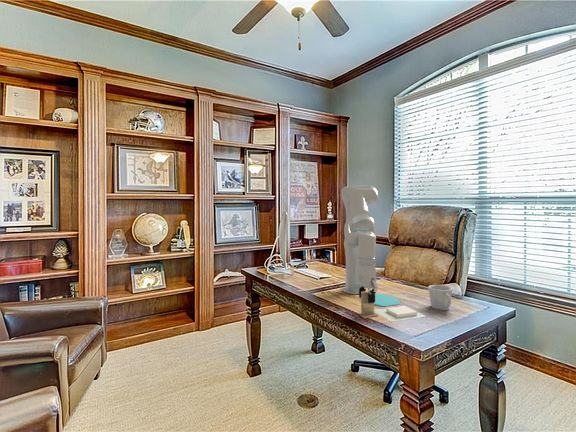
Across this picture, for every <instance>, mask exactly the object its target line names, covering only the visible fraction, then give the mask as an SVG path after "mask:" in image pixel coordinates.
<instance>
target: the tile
mask: <svg viewBox="0 0 576 432" xmlns="http://www.w3.org/2000/svg"><path fill="white" fill-rule="evenodd" d="M385 308H386V311H387V312H388V313H390V314H392V315H394V316H396V317H397V318H402V317H409V316H415V315H417V312H418V311H417V310H415V309H413V308H410V307H408V306H406V305H400V306H398V305H397V306H390V307H385ZM414 310H415V311H414ZM416 311H417V312H416Z"/></svg>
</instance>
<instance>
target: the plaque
mask: <svg viewBox="0 0 576 432" xmlns="http://www.w3.org/2000/svg"><path fill="white" fill-rule="evenodd" d="M398 305H401V302H400V300H399V298H398V297H397V296H394V295H388V294H383V293H379V292H378V293H377V292H376V294H375V303H374V306H378V307H383V308H388V307H394V306H398Z"/></svg>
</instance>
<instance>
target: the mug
mask: <svg viewBox="0 0 576 432" xmlns="http://www.w3.org/2000/svg"><path fill="white" fill-rule="evenodd" d="M427 288H428V294H429V299H430V306H431V308H433V309H435V310H440V311H448V310H449V309H450V307H451V306H452V305H451V304H452V294H453V293H452V292H453V288H452V287H451V286H449V285H445V284H431V285H428V287H427Z"/></svg>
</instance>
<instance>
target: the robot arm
mask: <svg viewBox="0 0 576 432" xmlns="http://www.w3.org/2000/svg"><path fill="white" fill-rule="evenodd" d="M341 199H342V200H341V201H342V202H343V205H344V209H345V223H344V228H343V233H344V240H343V247H344V255H345V282H344V284H345V287H343V289H342V290H343V292H344V293H346V294H349V295H358V297H359V299H361V292H363V291H369V294H368V303H375V294H376V293H377V290H378V288H379V287H378V284H377V271H376V247H377V245H376V244H377V243H376V242H377V236H376V222H375V219H374V218H373V217H372V216H369V214H370V212H369V205H376V204H378V202H379V193H378V190H377V189H376V187H374V186H373V185H347V186H344V187H343V188H341Z"/></svg>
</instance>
